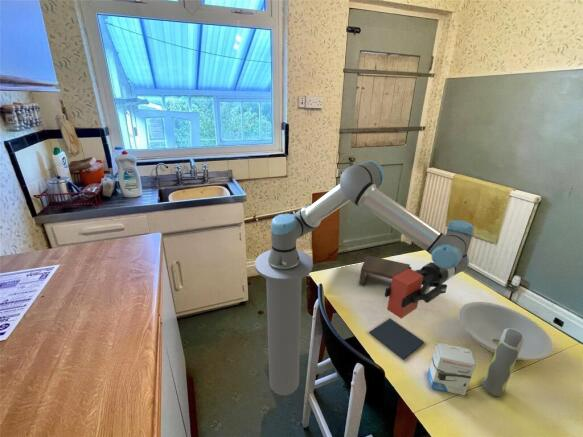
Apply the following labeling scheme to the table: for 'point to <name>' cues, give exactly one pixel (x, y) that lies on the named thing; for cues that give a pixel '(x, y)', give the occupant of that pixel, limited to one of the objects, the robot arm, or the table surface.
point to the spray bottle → (503, 362)
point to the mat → (396, 338)
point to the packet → (403, 291)
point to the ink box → (451, 368)
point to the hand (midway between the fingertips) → (394, 297)
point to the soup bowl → (495, 319)
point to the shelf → (381, 268)
